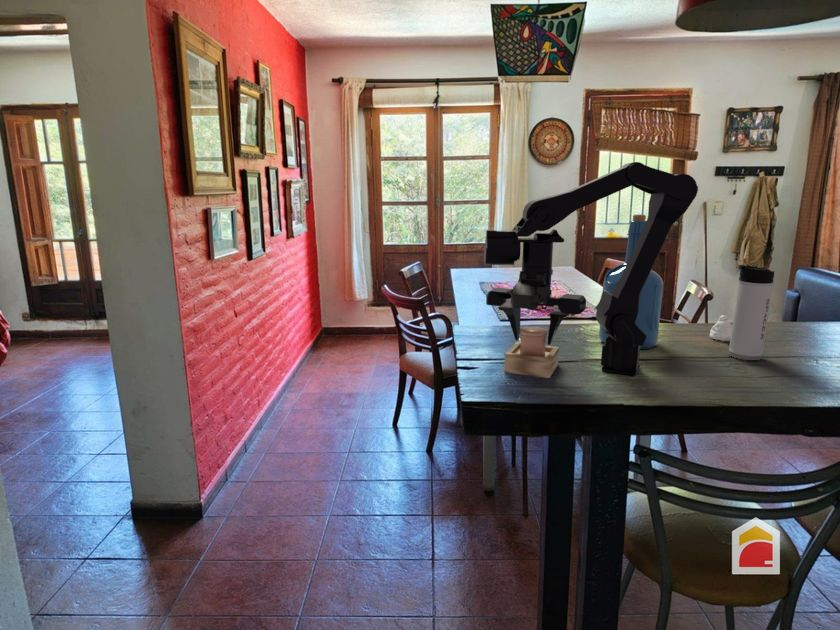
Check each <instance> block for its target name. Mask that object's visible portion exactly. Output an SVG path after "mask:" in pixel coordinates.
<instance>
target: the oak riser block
mask: <svg viewBox="0 0 840 630" xmlns="http://www.w3.org/2000/svg"><path fill="white" fill-rule="evenodd" d="M559 355H560V346H553V345H552V346H551V345H546V347H545V356H544V357H540V356H531V355H523V354H520V342H517V341H516V342H514V344H513V345H512V346H511V347H510V348H509V349H508V350H507V351H506V352H505V353H504V366H503V367H504V368H503V372H504V373H510V374H516V375H524V376H530V377H531V376H532V377H539V378H544V379H545V378H546V379H550V378H551V376H552V375H553V374H554V373H555V372H554V371H556V369H557V367H558V366H559Z"/></svg>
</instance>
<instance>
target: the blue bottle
mask: <svg viewBox="0 0 840 630" xmlns="http://www.w3.org/2000/svg"><path fill="white" fill-rule="evenodd" d="M646 217H647V216H646V215H645V214H633V216H632V220H630V222H629V226H628V230H627V234H626V235H627V236H628V238H627V244H626V245H627V246H626V253H625V258H624V259H625V260H624V263H621V264H619V265H617V266H615V267H613V268H611V269H610V270H609V271H608V272H607V273H606V274H605V275H604V281H603V284H602V292H603V291H604V290H605V291H607V292H608V293H610V292H611V291H612V290H613V289H614V288H615V287H616V286H617V284H618V283H619V280H620V278H621V276H622V274H623V272H624V269H625V267H626V265H627V263H628V261H629V258H630V256H631V254H632V252H633V250H634V247H635V245H636V243H637V241H638V239H639V237H640V234H641V232H642V230H643V228H644V226H645V223H646V221H647V218H646ZM663 291H664V282H663V279H662V277H661V276H660V274H658V273H657V272H656V271H654V270H653V269H651V272H650V274H649V276H648V278H647V280H646V282H645V284H644V287H643V289H642V291H641V293H640V297H639V312H638V315H637V319H636V323H635V324H636V325H637V327H638V328H639V329H640V330H641V331H642V332H643V333H644V334H645V335H646V336H647V337H646V339H645V341H644V343H643V345H642V346H640V350H647V349H650V348H653V347H655V346H657V344H658V341H659V340H658V339H659V332H660V331H659V329H660V321H661V313H662V312H661V310H662V301H663V293H664V292H663ZM607 337H608V335H607V334H606V333H605V330H604V328H603V327H602V326H601V325H600V324H599V333H598V338H599V340H600V341H601V342H603V343H604V344H605V343H606V339H607Z"/></svg>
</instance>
